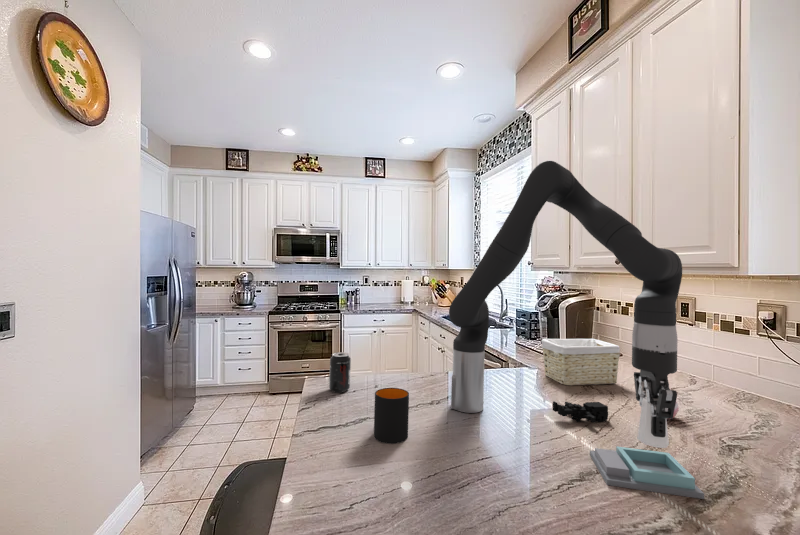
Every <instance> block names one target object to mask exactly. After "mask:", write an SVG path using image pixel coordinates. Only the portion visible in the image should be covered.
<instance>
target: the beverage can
mask: <svg viewBox="0 0 800 535" xmlns="http://www.w3.org/2000/svg"><path fill="white" fill-rule="evenodd" d="M351 361H352V359H351V356H350V353H349V352H344V351H342V352H341V351H338V352H333V353H332V354H331V357H330V358H329V378H328V380H329V381H328V382H329V383H328V384H329V385H328V387H329V390H330V391H332V392H333V393H336V394H337V393H339V394H340V393H346V392H347V391H348V390H349V389H350V388H351V368H352V366H351V365H352V364H351Z"/></svg>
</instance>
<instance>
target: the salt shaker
mask: <svg viewBox="0 0 800 535" xmlns="http://www.w3.org/2000/svg"><path fill="white" fill-rule="evenodd" d="M653 400H655V401H658V399H655V398H653ZM656 407H657V405H656ZM651 416H652V414H651V405H650V404H649V403H648V402H647V393H646V397H644V398H643V401H642V407H641V406H640V416H639V422H638V423H639V424H638V430H637V441H639V442H641V443H642V444H644V445H646V446H650V447H654V448H657V449H660V448H661V449H666V448H668V446H669V445H670V441H669V440H670V439H669V430H668V422H667V420H668V419H666V434H665V437H655V436H653V435H652V434H651Z"/></svg>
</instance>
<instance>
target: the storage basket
mask: <svg viewBox="0 0 800 535" xmlns="http://www.w3.org/2000/svg"><path fill="white" fill-rule="evenodd" d="M620 348H621V347H620V345H618V344H614V343H611V342H608V341H607V342H606V341H603V340H601V339H597V338H596V339H595V338H542V339H541V349H542V354H543V365H544V366H543V367H544V374H545V375H544V376H546V377H547V378H550V379H552V380H553V381H555V382H557V383H560V385H564V386H579V385H581V386H585V385H607V384H609V385H610V384H617V382H618V381H617V380H618V372H619V371H618V369H619V362H620V361H619V360H620V356H621V355H620V353H621V349H620Z"/></svg>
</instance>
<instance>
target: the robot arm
mask: <svg viewBox="0 0 800 535" xmlns="http://www.w3.org/2000/svg"><path fill="white" fill-rule="evenodd" d="M546 203H550V204H554V205H556V206H558V207H560V208H561V209H563V210H565V211H567V213H569V214H570V215H572V216H573V217H574V218H575V219H577V221H579V223H580V224H581V225H582V226H583V227H584V229H585V230H586V231H587V233H588V234H590V235H591V236H592V237H593V238H594V239H595V240H596V241H597V242H598V243H599V244H601V245H602V246H603V247H605V249H607V250H608V251H610V253H612V254H613V255H614V256H615V258H616V259H617V261H619V263H620V264H621V266H622V267H624V269H625V270H626V271H627V272H628V273H629V274H631V275H632V276H633V277H634V278H636V279H637V280H640V281H642V287H641V293H640V294H639V295H637V296H636V297H635V300H634V305H633V306H634V307H633V327H632V333H631V334H632V336H631V338H632V339H631V340H632V341H631V342H632V343H631V365H632V367H633V368H635V369H636V370H639V371H638V372H637V371H635V372H633V379H634V380H633V381H634V391H635V392H634V393H635V399H636V401H637V402H639V403H638V404H639V406H640V408H641V407H642V401H643V398H644V397H646V393H647V402H648V403H649V404H650V405H651V414H652V416H651V434H652V435H653V436H655V437H665V434H666V420H667V419H666V418H669V419H668V420H673V419H674V418H673V414H674V409H675V404H676V401H677V399H678V392H677V390H674V389H670V383H669V379H668V378H669V377H668V376H669V375H670V374H676V373H677V371H678V331H677V299H678V296H679V293H680V292H679V291H680V288H681V283H682V280H683V279H682V278H683V263H682V260H681V258H680V257H679V255H678V254H677V253H676V252H675V251H673V250H671V249H667V248H662V247H657V246H656V245H655V244H653V243H651V242H650V241H649V240H648V239H646V238H645V237H644V236H643V234H642V231H641V230H640V229H639V228H638V227H637V226H636V225H635V224H633V223H632V222H630V221H629V220H628V219H626V218H625V216H624V217H623V216H622V215H620V214H619V213H618V212H617V211H615V210H614V209H612V208H611V207H609V206H607V205H606V204H605V203H603V202H602V201H599V199H597V198H596V197H595V196H593V195H592V194H591V193H590V192H589V191H588V190H587V189H586V188H585V187H584V186H583V185H582V184H581V182H579V180H578V179H577V178H576V177H575V175H574V174H573V173H572V171H571V170H569V169H568V168H566V167H564V166H563V165H561V164H560V163H558V162H557V161H554V160H544V161H542V162H540V163H538V164H537V165H536V166H535V167H534V168H533V169H532V171H531V172H530V174H529V175H528V177H527V179H526V181H525V183H524V184H523V187H522V189H521V191H520V193H519V195H518V197H517V200H516V201H515V202H514V205H513V207H512V209H511V210H510V212H509V213H508V216H507V217H506V219H505V221H504V223H503V224H502V225H501V228H500V229H499V231H497V234H496V235H495V236H494V238H493V240H492V241H491V243H490V244H489V246H488V248H487V249H486V251H485V253H484V255H483V257H482V258H481V259H480V261H479V263H478V264H477V266H476V267H475V269H474V271H473V273H472V274H471V276H470V277H469V279H468V281H467V282H466V283H465V284H464V286H463V287H462V288H461V290H460V291H459V292H458V294H456V296H455V297H454V298H453V300H452V302H451V304H450V305H449V310H448V317H449V320H450V322H451V323H452V325H453V326H456V327H458V328H460V330H459V333H458V334H457V335H456V337H454V339H453V341H452V342H453V343H452V344H453V345H452V346H453V347H452V375H451V388H450V389H451V391H450V392H451V394H450V395H451V396H450V409H452V410H456V411H457V412H458V411H459V412H462V413H466V414H467V413H470V414H473V413H479V412H482V411H483V410H484V404H485V403H484V402H485V401H484V399H485V398H484V395H485V394H484V392H485V391H484V390H485V388H484V387H485V386H484V385H485V349H486V343H487V341H488V335H489V322H490V321H489V320H490V319H489V318H490V310H489V305H488V303H487V301H486V299H487V298H488V297H489V296H490V294H491V293H492V291H493V290H494V289H496V288H497V287H498V286H499V285H500V284H501V283H502V282H503V281H504V280H506V279H507V278H508V277H509V276H510V275H511V274H512V273H513V272H514V271H515V270H516V268H517V267H518V266H519V264H520V262H521V261H522V260H523V258H524V256H525V255H526V253H527V252H528V249H529V246H530V243H531V238H532V234H533V233H532V232H533V228H534V227H533V226H534V223H535V221H536V218H537V217H538V215H539V213H540V212H541V211H542V208H543V207H544V205H545V204H546ZM653 398H655V399H658V401H655V400H653ZM656 405H657V407H656ZM667 408H668V409H667ZM672 418H673V419H672Z"/></svg>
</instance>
